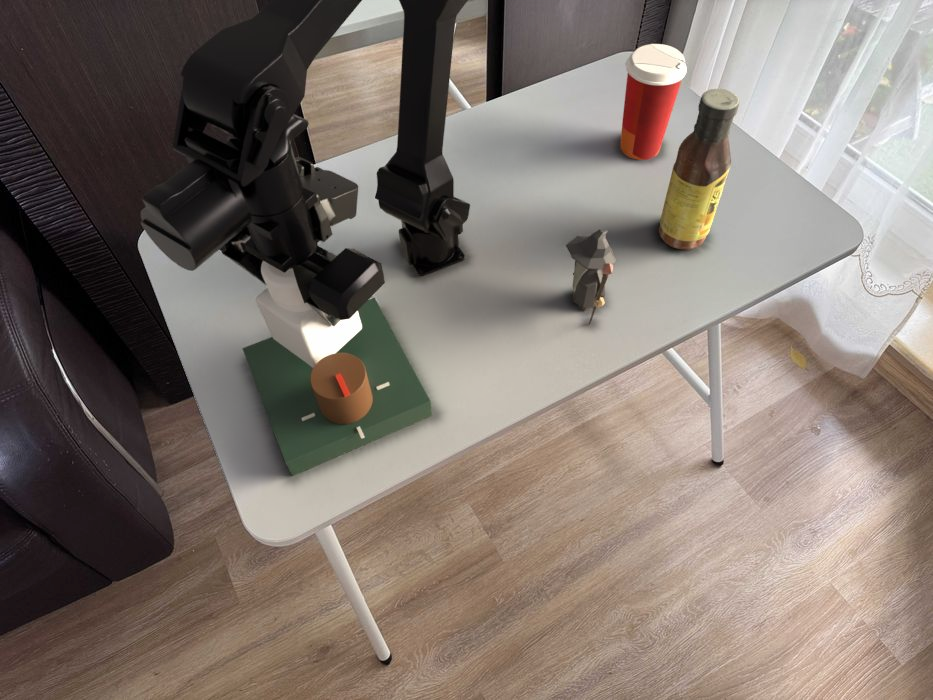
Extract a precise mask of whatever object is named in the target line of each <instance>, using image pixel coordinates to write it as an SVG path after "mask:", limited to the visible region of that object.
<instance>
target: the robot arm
mask: <svg viewBox="0 0 933 700" xmlns="http://www.w3.org/2000/svg"><path fill="white" fill-rule="evenodd" d="M362 1H363V0H269V2H268V3H267V4H266V5H265V6H264V7H263V8H262V10H260V11H259V12H258V13H257V14H255V15H254V16H253V17H252V18H250V19H247V20H244V21H241V22H239V23H235V24H233V25H230V26H227V27H224V28H222V29H221V30H219V31H218V32H217V33H215V34H214V35H213V36H212V37H211V38H209V39H208V40H207V41H205V42H204V43H203V44H202V45H201V46H199V47H198V48H197V49H195V50H194V52H192V54H190V56H189V57H188V58H187V60H186V62H185V64H183V67H182V69H181V73H180V79H182V85H181V92H180V98H179V103H178V109H177V115H176V121H175V127H174V133H173V139H172V144H171V147H172V148H171V149H172V150H173V151H175V152H176V153H178V154H180V155H182V156H184V157H186V159H187V162H188V163H189V164H187V165H186V166H184V167H183V168H181V170H179V171H178V172H176V173H175V174H174V175H172V176H171V177H170V178H168V179H167V180H165V181H164V182H163V183H160V184H158V185H156V186H154V187H153V188H151V189H150V190H149V191H147V192H146V193H144V194H143V195H142V198H141V200H142V202H143V204H144V208H143V209H142V210H141V211H140V218H141V221H140V225H141V226H142V228H143V230H144V231H145V233H146V235H147V236H148V237H149V238H150V240H151V241H152V242H153V243H154V245H155V246H156V247H157V248H158V249H159V250H160V251H161V252H162V253H163V254H164V255H165V256H166V257H167V258H168V259H170V260H171V261H172V262H173V263H175V264H176V265H178V266H179V267H180V268H182V269H184V270H187V271H191V272H193V271H196V270H197V269H198V268H199V267H200V266H201V265H203V264H204V263H205V262H206V261H207V260H208V259H210V258H211V257H212V256H213V255H215V254H216V253H217V252H218V251H220V252H221V254H222V255H223V256H225V257H226V258H228V259H229V260H231V261H232V262H234V264H236V265H237V266H239V267H240V268H242V269H243V270H245V271H246V272H247V273H249V274H250V275H251V276H252V277H254V278H255V279H257V280H258V281H259V282H261V283H262V284H263V285H265V286H266V283H265V281H264V279H263V276H262V274H261V265H262V262H263V261H265V262H266V263H268V264H270V265H272V266H273V267H275V268H277V269H279V270H280V271H282V272H284V273H285V272H286V271H287V270H288V269H292V268H294V267H295V266H297V265H301V266H302V267H304V268H306V269H308V270H310V271H311V272H313V273H315V274H317V275H316V276H315V277H314V278H313V281H312V284H311V287H310V289H309V293H310V297H309V298H308V299H307V300H306V303H307V304H308V305H309V306H311V307H312V308H313V309H314V310H315V311H316V312H317V313H318V314H319V315H320V316H321V317H322V318H323V319H324V320H326V321H327V322H328V323H329V324H330V325H332V326H333V327H334V326H335V325H336V324H337V323H338V322H339V321H340V320H345V319H350V318H351V317H352V316H353V315H354V314H355V313H356V312H357V311H358V310H359V309H360V308H361V307H362V306H363V305H364V304H365V303H366V302H367V301H368V300H370V299H372V298H373V297H374V295H375V294H376V293H377V292H378V291H379V289H381V288H382V287H383V285H385V284H386V280H385V274H384V269H383V264H382V263H381V261H380V262H379V261H378V260H376V259H374V258H372V257H370V256H369V255H366V254H365V253H363V252H361V251H359V250H357V249H356V248H350V247H345V248H344V249H343V250H341V252H339V254H337V255H336V254H334V253H332V252H330V251H329V250H326V249H325V248H323V247H322V246H319V245H318V243H319V242H322V243H325V242H326V241H328V240H329V239H330V238H331V237H332V236H333V235H334V234H333V231H332V227H333V226H336V225H337V224H339V223H342V222H344V221H347V220H348V219H349V220H352V219H354V218H355V217H356V216H357V209H358V197H359V184H358V183H356V182H355V181H352V180H351V179H348V178H347V177H344V176H342V175H340V174H338V173H336V172H334V171H332V170H328V169H324V168H323V169H322V167H321V168H320V167H319V166H315V165H314V164H313V162H311V161H309V160H307V159H305V158H303V157H301V156H297V157H295V154H294V150H293V146H292V141H293V140H294V139H295V138H297V137H298V136H299V135H300V134H301V133H303V132H304V131H305V130H307V129H308V127H309V121H308V119H306V118H303V117H301V116H299V115H297V114H295V113H296V111H297V109H298V108H299V107H300V105H301V103H302V101H303V100H304V98H305V95H306V85H307V74H308V69H309V68H310V66H311V65H312V63H313V62H314V60H315V59H316V57H317V56H318V54H319V53H320V52H321V51H322V49H323V48H324V47H325V46H326V45H327V43H328V42H329V41H330V40H331V39H332V37H334V35H336V33H337V31H338V30H340V28H341V27H342V26H343V24H345V22H346V21H347V19H349V17H350V16H351V15H352V13H353V12H355V10H356V8H357V7H359V5H360V3H361V2H362ZM468 1H469V0H398V2H399V4H400V6H401V8H402V11H403V28H402V29H403V30H402V46H401V48H402V49H401V64H400V65H401V67H400V84H399V85H400V86H399V105H398V124H397V140H396V142H397V143H396V151H395V153H394V154H393V155H392V157H390V159H389V160H388V161H387V163H386V164H385V165H384V166H381V167H379V168H378V169H377V171H376V184H377V185H376V192H375V194H374V199H375V200H377V201H378V207H379V209H380V210H382V211H383V212H384V213H385V214H387V215H388V216H391V217H393V218H395V219H397V220H399V221H400V222H401V228H399V229H398V237H399V244H400V250H401V251H400V252H401V254H402V256H403V257H404V259H405V261H406V262H407V264H408V265H409V266H412V267H413V269H414V271H415V273H416V274H417V276H418V277H424V276H427V275H429V274H433V273H434V272H438V271H441V270H443V269H446V268H448V267H450V266H453V265H457V264H458V263H461V262H463V261H465V259H466V254H464V252H463V250H462V249H461V248H460V240H459V239H460V238H459V236H460V235H461V234H462V233H464V224H465V223H466V222H467V221H468V219H469V215H470V208H471V203H468V202H466V201H464V200H462V199H460V198H458V197H456V196H455V195H454V193H455V191H454V190H455V188H454V186H455V185H454V183H455V181H454V176H453V174H452V172H451V169H450V167H449V165H448V163H447V161H446V159H445V156H444V154H443V149H444V139H445V138H444V137H445V129H446V128H445V127H446V117H447V110H448V109H447V108H448V97H449V89H450V80H451V69H452V59H453V49H454V48H453V47H454V39H455V37H454V36H455V28H456V20H457V16H458V15H459V14H460V12H461V10H462V9H463V8H464V6H465V5H466V4H467V2H468ZM207 125H209V126H211V127H213V128H215V129H217V130H219V131H221V132H223V133H225V134H227V135H229V136H228V137H227V139H226V141H225V142H223V141H221V140H219V139H217V138H215V137H214V136H211V135H209V134H207V133H205V132H204V131H205V129H206V127H207Z"/></svg>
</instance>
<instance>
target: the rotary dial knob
mask: <svg viewBox="0 0 933 700" xmlns="http://www.w3.org/2000/svg"><path fill="white" fill-rule="evenodd" d="M310 383H311V387H312V389H313V392H314V394H315V397H316V400H317V402H318V405H319V407H320V410H321V412H322V414H323V416H324V417H325V418H326V419H328V420H329V421H331V422H333V423H336V424H350V423H354V422H356V421H358V420H360V419H361V418H363V417H364V416H365V415H366V414H367V413H368V411H369V410H370V408H371V405H372V400H373V398H372V392H371V388H370V385H369V381H368V377H367V373H366V369H365V366H364V364H363V363H362V361H361V360H360V359H359V358H357V357H356V356H354V355H351V354H347V353H335V354H331V355H328V356H326V357H324V358H323V359H321V360H320V361H319V362H318V363H317V364H316V365H315V366H314V368H313V370H312V372H311V375H310Z"/></svg>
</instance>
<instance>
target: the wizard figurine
mask: <svg viewBox="0 0 933 700" xmlns="http://www.w3.org/2000/svg"><path fill="white" fill-rule="evenodd" d="M607 233H608V230H606V229H598V230H596V231H594V232H593V233H591V234H590V235H576V236H575V237H573V238H572V239H571V240H570V241H569V242H567V243H565V247H566V249H567V251H568V253H569V255H570V257H571V259H572V260H574V271H573V272H572V276H573V277H572V278H573V279H572V289H573V291H572V294H571V298H572V301H573V302H574V303H575V304H577V305H578V309H580V310H582V311H585V312H586V311H588V310H589V309H591V308H592V312H591V316H590V319H589V322H588V325H591V323H592V321H593V317H594V315H595V312H596V309H597V308H602V307H603V306H604V305H605V304H606V302H605V296H606V295H605V294H606V283H607V280H608V278H609V275H611V274H613V269H614V264H615V263H616V262H617V259H616V256H615V254H614V252H613V249H612V247H611V246H610V245H609V241H608V240H607V238H606V234H607Z"/></svg>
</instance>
